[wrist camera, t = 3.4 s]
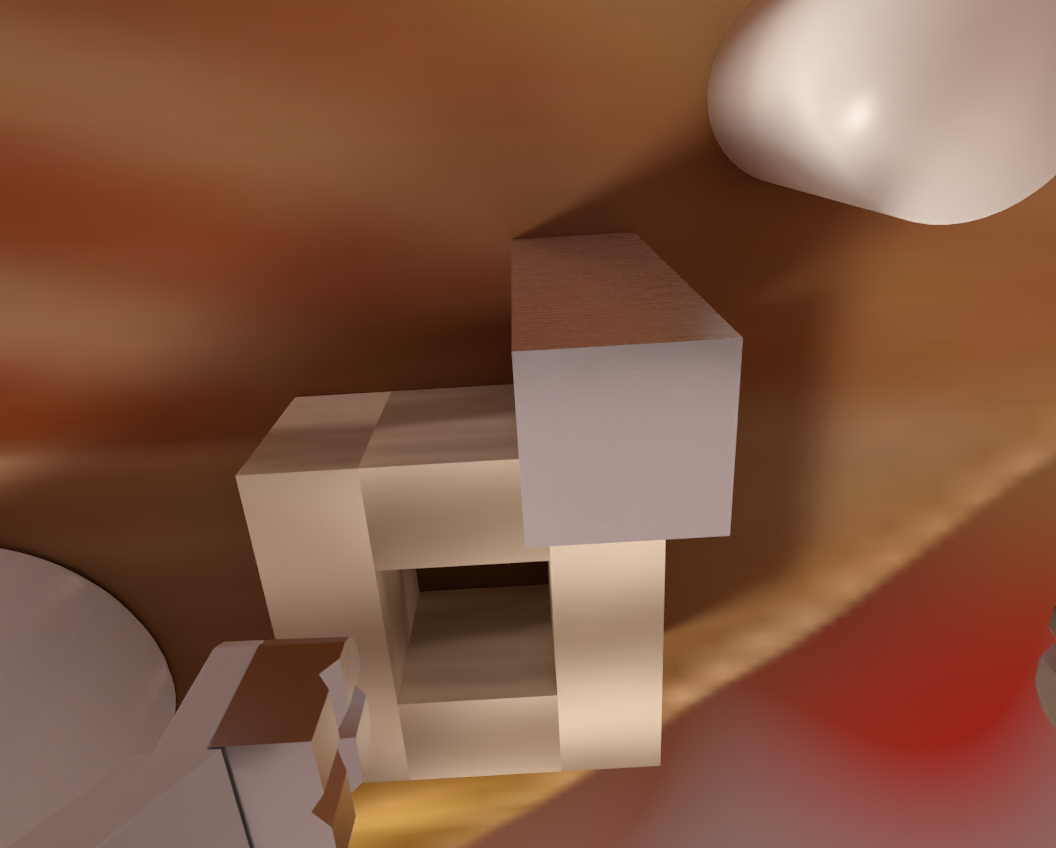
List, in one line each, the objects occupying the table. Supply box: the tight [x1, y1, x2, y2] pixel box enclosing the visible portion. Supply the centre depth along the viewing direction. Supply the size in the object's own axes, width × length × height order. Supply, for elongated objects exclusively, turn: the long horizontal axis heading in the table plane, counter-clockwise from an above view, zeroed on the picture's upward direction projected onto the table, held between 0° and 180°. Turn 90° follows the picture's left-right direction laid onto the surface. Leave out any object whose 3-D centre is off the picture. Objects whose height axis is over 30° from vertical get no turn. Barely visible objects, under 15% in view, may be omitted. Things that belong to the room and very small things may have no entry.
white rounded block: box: [707, 0, 1056, 225], centre depth 18 cm, size 6×6×9 cm
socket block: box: [235, 384, 666, 783], centre depth 25 cm, size 12×12×6 cm
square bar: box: [512, 232, 743, 548], centre depth 19 cm, size 4×4×12 cm
